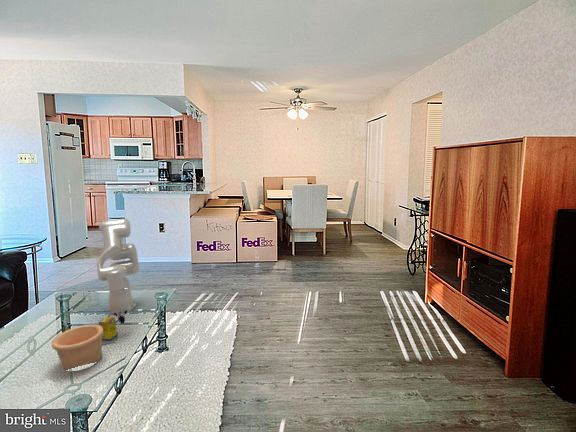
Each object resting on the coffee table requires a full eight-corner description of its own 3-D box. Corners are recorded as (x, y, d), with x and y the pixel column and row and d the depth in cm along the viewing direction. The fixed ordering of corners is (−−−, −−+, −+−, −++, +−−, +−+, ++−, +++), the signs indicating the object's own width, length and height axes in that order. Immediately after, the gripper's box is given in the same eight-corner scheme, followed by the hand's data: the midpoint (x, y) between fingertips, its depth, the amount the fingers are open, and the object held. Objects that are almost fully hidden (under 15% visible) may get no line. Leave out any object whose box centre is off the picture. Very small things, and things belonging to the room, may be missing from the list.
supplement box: (111, 340, 195) (107, 322, 193) (101, 340, 196) (98, 321, 194) (118, 335, 201) (114, 316, 199) (108, 334, 202) (105, 316, 200)
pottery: (96, 345, 193) (91, 320, 190) (115, 358, 179) (110, 331, 176) (50, 365, 176) (44, 338, 174) (67, 381, 162) (61, 352, 160)
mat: (78, 340, 198) (78, 340, 198) (118, 332, 205) (118, 331, 205) (74, 351, 187) (74, 351, 187) (116, 342, 194) (116, 341, 194)
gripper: (132, 286, 202) (137, 317, 206) (102, 292, 197) (108, 323, 200) (131, 291, 195) (136, 322, 199) (101, 297, 190) (106, 329, 194)
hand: (122, 322), depth 200 cm, fingers closed
